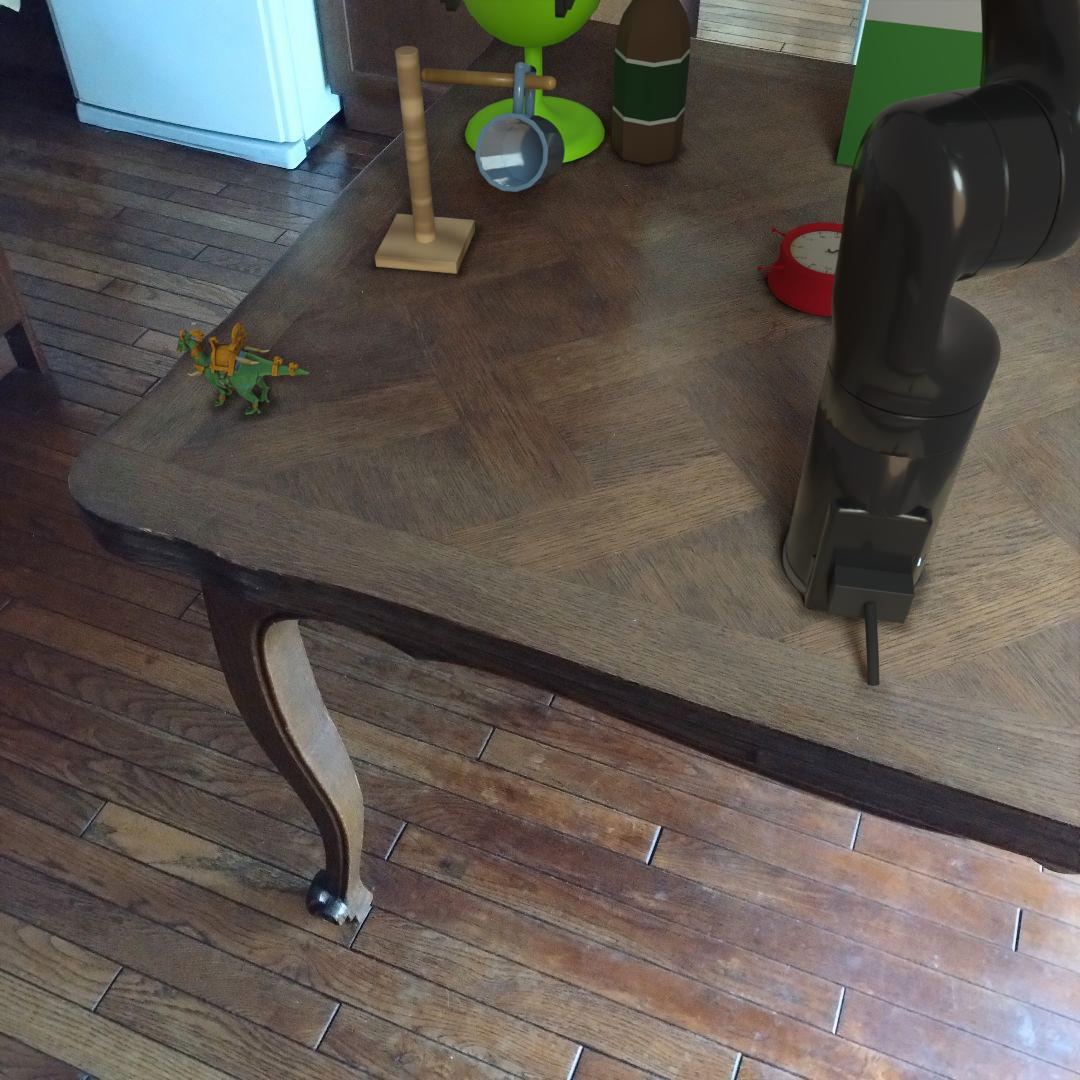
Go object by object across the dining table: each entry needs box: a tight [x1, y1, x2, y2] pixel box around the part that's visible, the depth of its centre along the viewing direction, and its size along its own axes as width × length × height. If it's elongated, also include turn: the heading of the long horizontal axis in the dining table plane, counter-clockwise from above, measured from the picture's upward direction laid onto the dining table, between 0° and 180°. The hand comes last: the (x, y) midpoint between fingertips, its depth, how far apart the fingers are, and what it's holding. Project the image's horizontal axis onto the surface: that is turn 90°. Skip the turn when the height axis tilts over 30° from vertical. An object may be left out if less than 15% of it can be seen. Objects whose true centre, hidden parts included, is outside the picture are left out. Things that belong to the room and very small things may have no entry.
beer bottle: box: [611, 0, 692, 165], centre depth 109 cm, size 8×8×24 cm
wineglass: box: [462, 0, 606, 164], centre depth 114 cm, size 16×16×18 cm
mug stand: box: [374, 45, 557, 274], centre depth 97 cm, size 8×17×19 cm, turn 80°
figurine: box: [176, 322, 310, 416], centre depth 85 cm, size 3×12×8 cm, turn 72°
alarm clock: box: [757, 221, 843, 317], centre depth 96 cm, size 10×6×15 cm
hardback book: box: [835, 0, 982, 167], centre depth 107 cm, size 18×7×24 cm, turn 70°
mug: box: [474, 61, 565, 193], centre depth 93 cm, size 10×6×10 cm
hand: (507, 11), depth 82 cm, fingers open, 8 cm apart
